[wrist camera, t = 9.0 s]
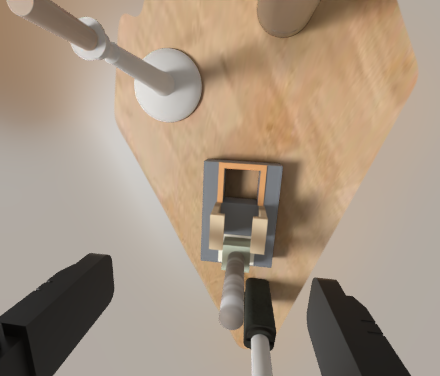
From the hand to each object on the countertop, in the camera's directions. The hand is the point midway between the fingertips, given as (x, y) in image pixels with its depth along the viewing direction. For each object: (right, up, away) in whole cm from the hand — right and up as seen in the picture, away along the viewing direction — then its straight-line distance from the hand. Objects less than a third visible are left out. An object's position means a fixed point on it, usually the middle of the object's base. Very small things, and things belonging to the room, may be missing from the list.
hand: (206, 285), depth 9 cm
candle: (+9, -18, +42) cm, 47 cm away
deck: (+5, -1, +38) cm, 39 cm away
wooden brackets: (+4, -2, +35) cm, 35 cm away
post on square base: (+4, -8, +36) cm, 37 cm away
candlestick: (-9, +23, +35) cm, 42 cm away
